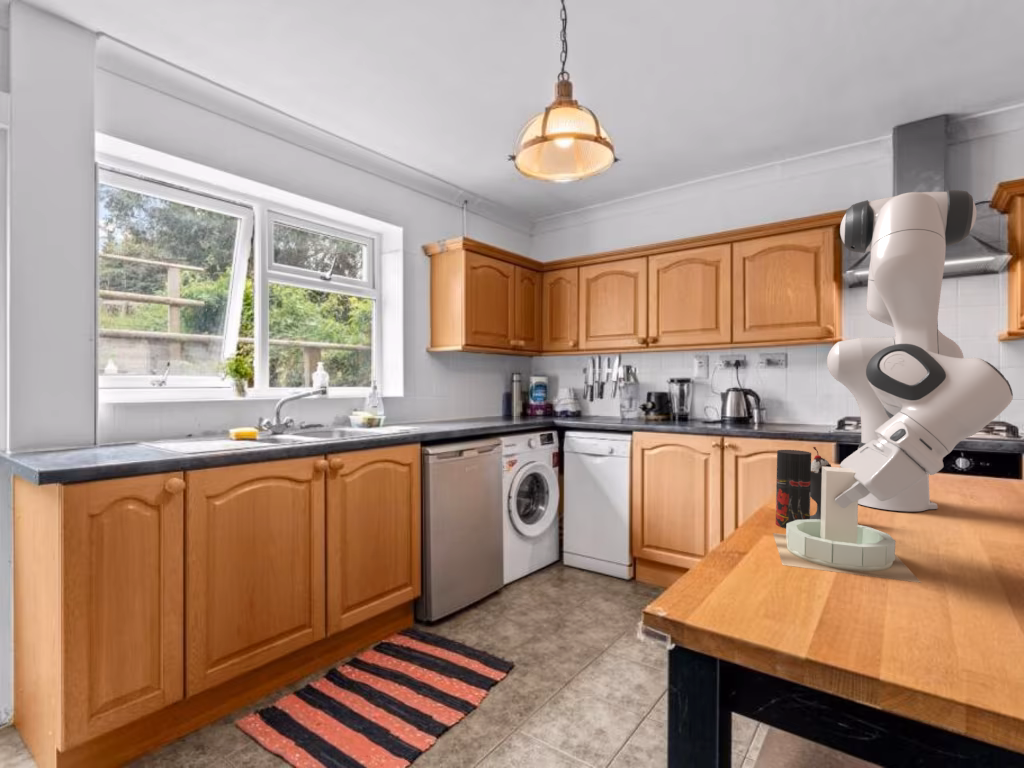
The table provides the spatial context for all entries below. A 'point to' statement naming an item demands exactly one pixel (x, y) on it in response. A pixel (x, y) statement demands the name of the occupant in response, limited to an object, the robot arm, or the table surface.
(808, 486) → the deodorant
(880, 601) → the table surface
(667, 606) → the table surface
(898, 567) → the cork mat
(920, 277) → the robot arm
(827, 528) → the tall white box
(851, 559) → the bowl
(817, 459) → the sundae
